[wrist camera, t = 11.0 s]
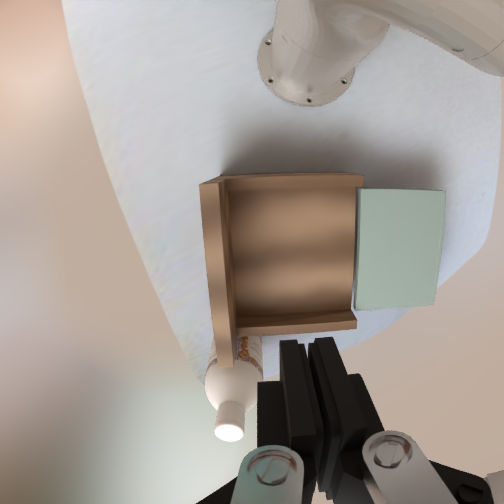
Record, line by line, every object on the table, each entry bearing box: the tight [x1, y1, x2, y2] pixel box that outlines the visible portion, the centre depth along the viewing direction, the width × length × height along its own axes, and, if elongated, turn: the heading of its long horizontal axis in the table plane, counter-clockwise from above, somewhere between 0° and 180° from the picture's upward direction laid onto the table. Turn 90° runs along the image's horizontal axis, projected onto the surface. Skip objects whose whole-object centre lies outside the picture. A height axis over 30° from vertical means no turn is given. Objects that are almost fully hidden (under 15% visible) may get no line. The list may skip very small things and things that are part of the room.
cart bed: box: [199, 172, 364, 367], centre depth 35 cm, size 18×16×15 cm
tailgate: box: [353, 188, 446, 311], centre depth 36 cm, size 15×2×11 cm
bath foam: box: [205, 336, 263, 441], centre depth 37 cm, size 7×7×20 cm
